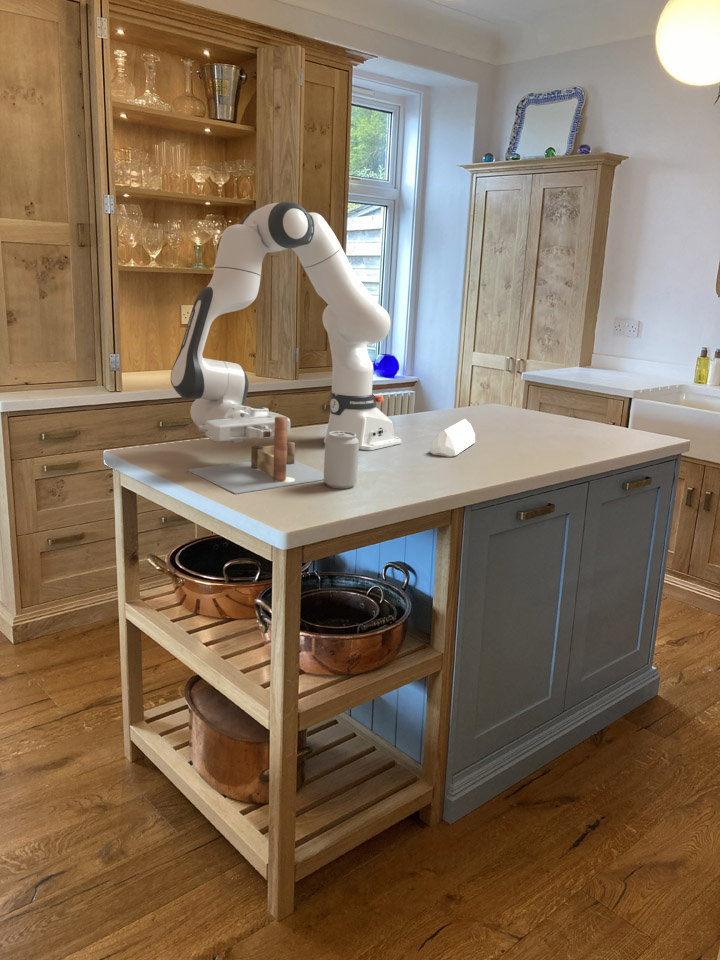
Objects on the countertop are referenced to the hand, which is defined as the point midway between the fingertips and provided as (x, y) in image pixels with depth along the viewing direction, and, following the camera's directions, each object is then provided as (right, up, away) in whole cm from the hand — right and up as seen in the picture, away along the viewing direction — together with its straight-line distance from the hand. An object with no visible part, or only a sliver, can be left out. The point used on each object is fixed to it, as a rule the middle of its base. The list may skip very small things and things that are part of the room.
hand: (266, 434), depth 172 cm
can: (+16, -11, +2) cm, 20 cm away
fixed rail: (0, -7, +15) cm, 16 cm away
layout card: (-2, -9, +7) cm, 12 cm away
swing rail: (0, -9, +6) cm, 11 cm away
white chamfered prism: (+47, -2, +44) cm, 64 cm away
